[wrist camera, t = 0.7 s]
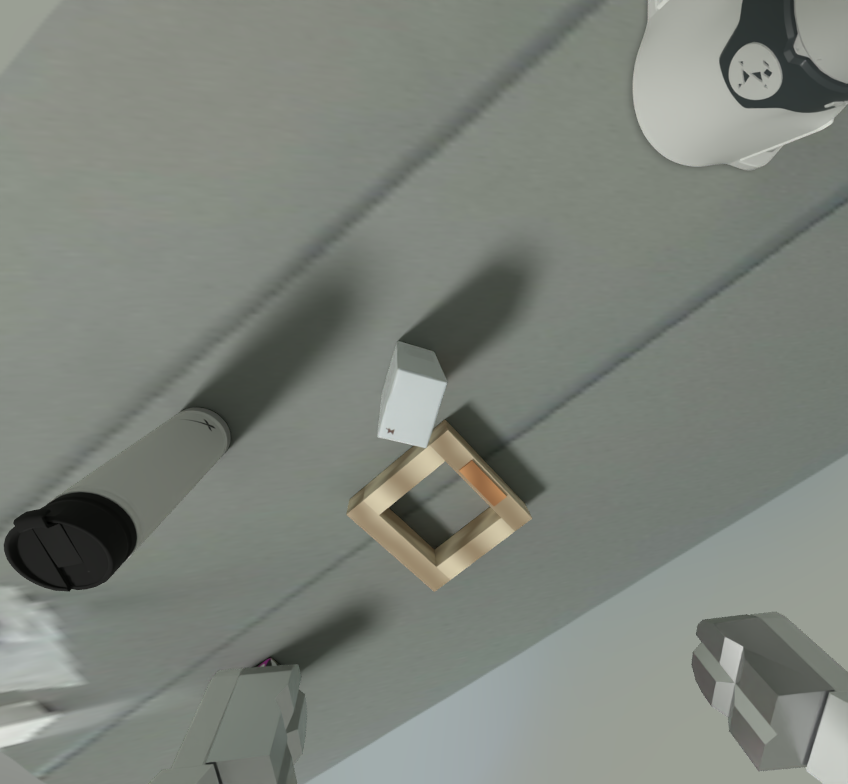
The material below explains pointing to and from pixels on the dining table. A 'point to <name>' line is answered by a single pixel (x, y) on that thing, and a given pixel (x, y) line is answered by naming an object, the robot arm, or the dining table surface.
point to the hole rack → (468, 541)
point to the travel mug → (116, 505)
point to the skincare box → (411, 395)
